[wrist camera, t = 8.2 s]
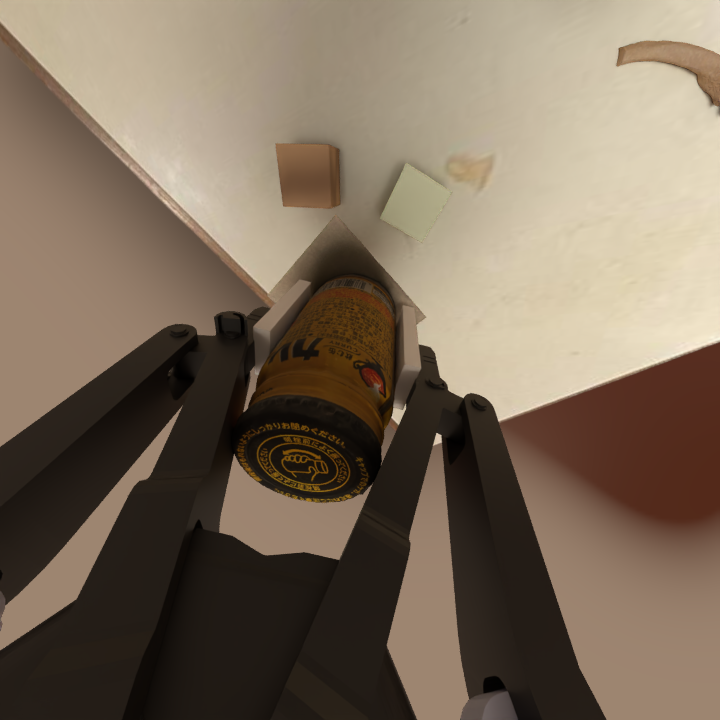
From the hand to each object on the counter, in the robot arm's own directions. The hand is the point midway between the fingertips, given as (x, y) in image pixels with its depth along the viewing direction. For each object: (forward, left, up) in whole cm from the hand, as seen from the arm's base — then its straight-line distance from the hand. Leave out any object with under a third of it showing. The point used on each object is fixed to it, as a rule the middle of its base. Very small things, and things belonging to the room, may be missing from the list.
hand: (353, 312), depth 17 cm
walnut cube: (-6, -8, -19) cm, 21 cm away
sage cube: (-6, +3, -19) cm, 20 cm away
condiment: (0, -1, -1) cm, 1 cm away
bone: (-19, +22, -19) cm, 35 cm away
